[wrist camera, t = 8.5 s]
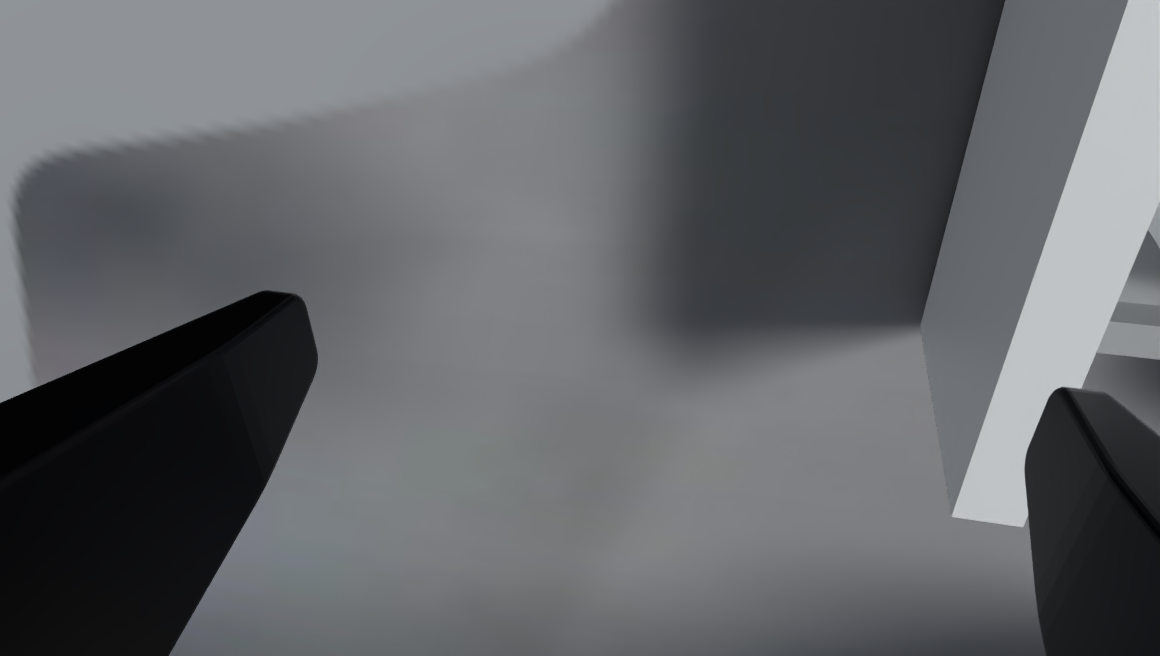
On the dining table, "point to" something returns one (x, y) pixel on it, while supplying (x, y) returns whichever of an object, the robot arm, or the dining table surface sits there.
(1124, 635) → the robot arm
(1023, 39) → the grey boxy piece
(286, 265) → the dining table surface
